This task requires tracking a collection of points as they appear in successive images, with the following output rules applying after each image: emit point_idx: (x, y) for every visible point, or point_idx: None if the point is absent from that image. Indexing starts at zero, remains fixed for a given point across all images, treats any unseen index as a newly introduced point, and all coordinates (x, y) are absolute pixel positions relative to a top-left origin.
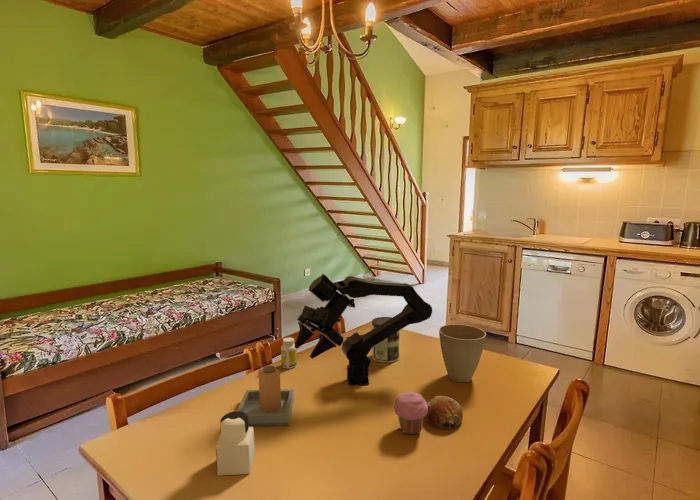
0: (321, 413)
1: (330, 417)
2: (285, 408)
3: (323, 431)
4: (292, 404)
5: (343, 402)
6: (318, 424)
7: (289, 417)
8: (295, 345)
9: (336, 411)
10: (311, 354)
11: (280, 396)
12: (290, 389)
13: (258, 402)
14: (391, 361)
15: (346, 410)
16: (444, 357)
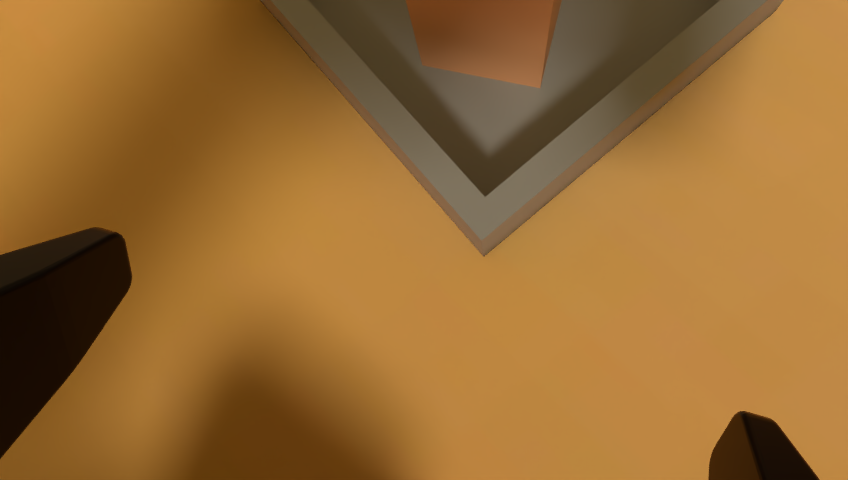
0: (172, 238)
1: None
2: (388, 79)
3: (44, 98)
4: (421, 184)
5: (122, 466)
6: (111, 131)
7: (298, 41)
8: (758, 434)
9: None
10: (55, 242)
11: (410, 13)
12: (501, 219)
13: (625, 4)
14: None
15: None
16: None
